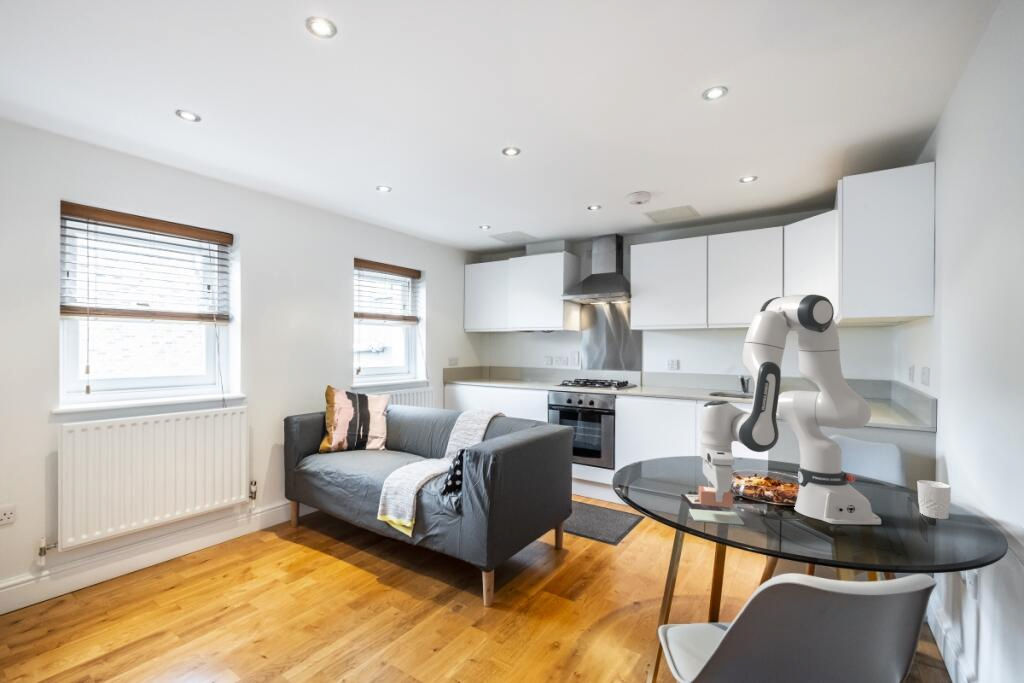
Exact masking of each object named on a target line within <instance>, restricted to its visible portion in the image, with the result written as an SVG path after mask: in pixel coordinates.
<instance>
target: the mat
mask: <svg viewBox="0 0 1024 683" xmlns="http://www.w3.org/2000/svg"><path fill="white" fill-rule="evenodd" d="M688 511H689V513H690V515H691V517H692V519H693V520H694V522H703V523H716V524H717V523H718V524H729V525H731V524H732V525H742V526H744V525H745V522H744V521H743V519H742V518H741V517H740V516H739V515H738V513H737V512H733V511H724V510H723V511H711V510H697V509H692V508H689V509H688Z"/></svg>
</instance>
